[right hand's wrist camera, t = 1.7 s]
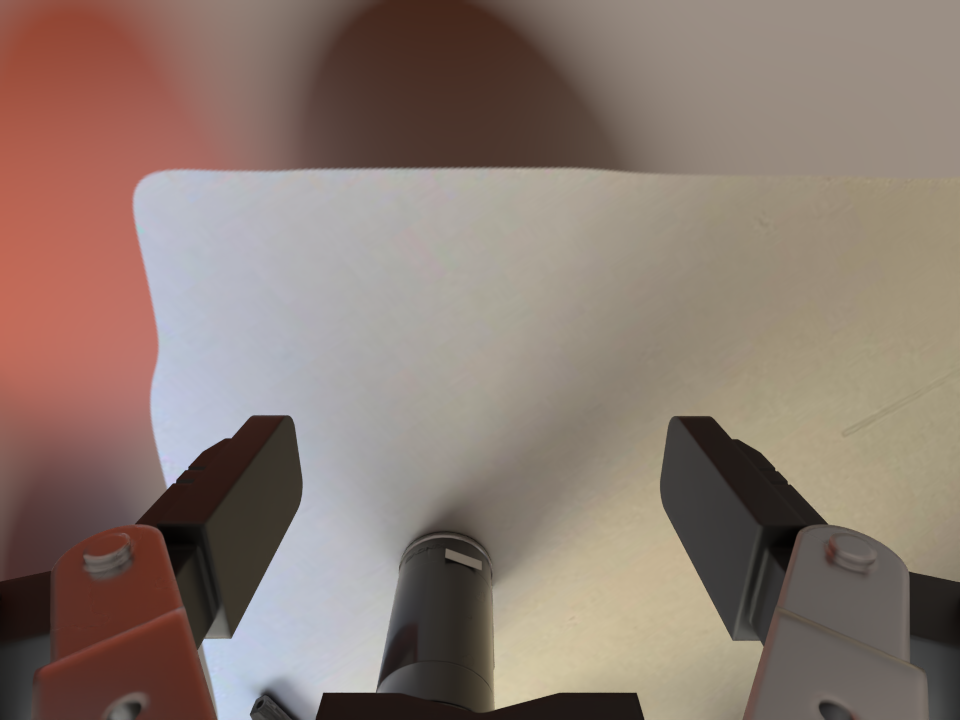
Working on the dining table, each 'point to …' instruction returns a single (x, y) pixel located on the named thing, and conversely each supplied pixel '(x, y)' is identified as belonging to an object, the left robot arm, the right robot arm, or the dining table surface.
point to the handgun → (267, 710)
